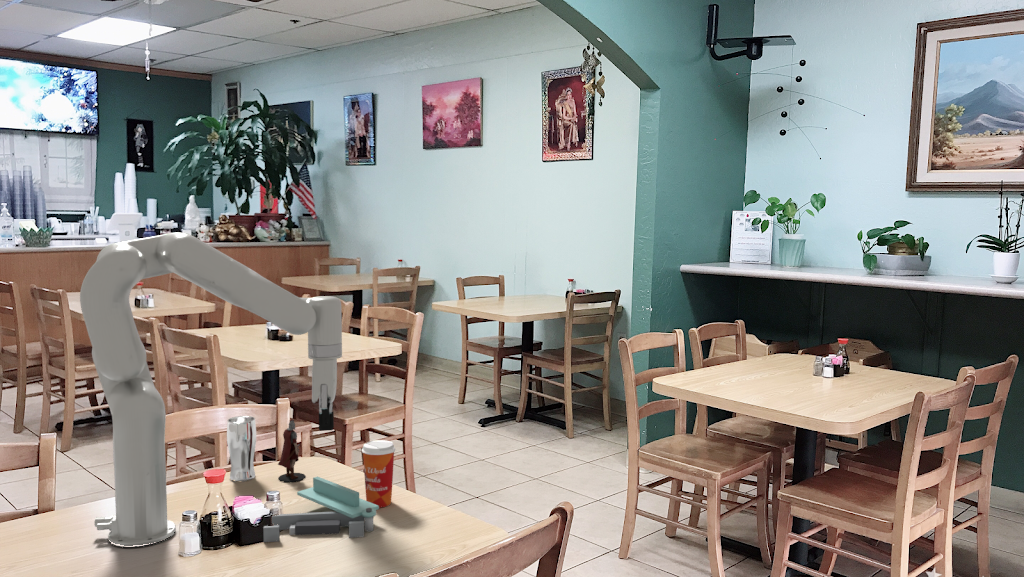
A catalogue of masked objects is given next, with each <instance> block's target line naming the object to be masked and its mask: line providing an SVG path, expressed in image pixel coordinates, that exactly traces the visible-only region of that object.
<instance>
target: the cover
mask: <svg viewBox="0 0 1024 577" xmlns="http://www.w3.org/2000/svg"><path fill="white" fill-rule="evenodd" d="M296 495H297V496H299V497H301V498H304V499H306V500H308V501H311V502H312V503H315V504H318V505H319V506H323V507H325V508H328V509H330V510H333V512H336V511H337V512H339V513H341V514H344V515H346V516H349V517H351V518H355V517H358V516H360V515H362V516H363V517H373V518H374V517H376V515H377V510H380V508H379V506H378V505H376V504H373V503H371V502H368V501H366V499H363V498H360V492H359V491H357V490H353V489H351V488H349V487H346V486H344V485H341V484H339V483H336V482H333V481H331V480H328V479H325V478H322V477H320V476H315V477H313V478H312V487H309V488H305V489H302V490H299V491H297V492H296Z"/></svg>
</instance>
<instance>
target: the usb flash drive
mask: <svg viewBox="0 0 1024 577" xmlns="http://www.w3.org/2000/svg"><path fill="white" fill-rule="evenodd" d="M341 530H342V529H341V520H322V521H297V523H296V525H291V526H290V529H289V535H290V536H291V535H293V536H294V535H295V536H313V535H314V536H316V535H317V536H319V535H320V536H321V535H339V534H340V533H341Z"/></svg>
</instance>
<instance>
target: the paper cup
mask: <svg viewBox="0 0 1024 577" xmlns="http://www.w3.org/2000/svg"><path fill="white" fill-rule="evenodd" d="M395 451H397V450H396V447H395V445H394V442H392V441H391V440H386V439H385V440H384V439H377V440H370V441H367V442H365V443H364V444H363V446H362V449H361V452H362V454H363V455H362V456H363V473H364V487H365V498H366V499H365V501H368V502H371V503H373V504H376V505H378V506H379V509H381V508H385V507H386V508H387V507H388V506H390V505H391V503H392V496H393V494H392V493H393V479H394V463H395V462H394V460H395V459H394V458H395Z"/></svg>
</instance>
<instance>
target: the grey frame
mask: <svg viewBox="0 0 1024 577" xmlns="http://www.w3.org/2000/svg"><path fill="white" fill-rule="evenodd" d="M279 514H280V515H277V516H276V515H275V516H272V524H273V523H274V526H268V525H263V527H262V528H263V543H272V542H273V543H274V542H280V536H281V535H280V532H281V530H282V531H283V530H290V526H291V525H296V523H297V521H322V520H341V527H343V528H344V527H348V538H349V539H350V538H364V537H365V532H372V531H374V517H363V516H362V515H360V516H358V517H355V518H351V517H349V516H346V515H344V514H341V513H339V512H337V511H322V512H321V511H320V512H319V511H318V512H302V513H301V512H300V513H299V512H298V513H279ZM277 524H278V525H277Z"/></svg>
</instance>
